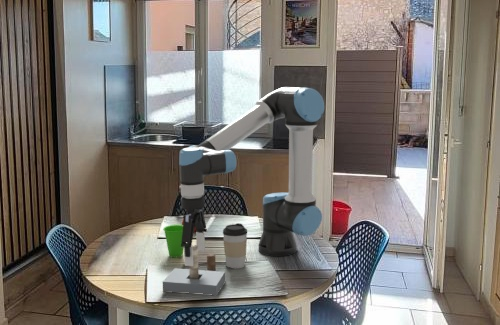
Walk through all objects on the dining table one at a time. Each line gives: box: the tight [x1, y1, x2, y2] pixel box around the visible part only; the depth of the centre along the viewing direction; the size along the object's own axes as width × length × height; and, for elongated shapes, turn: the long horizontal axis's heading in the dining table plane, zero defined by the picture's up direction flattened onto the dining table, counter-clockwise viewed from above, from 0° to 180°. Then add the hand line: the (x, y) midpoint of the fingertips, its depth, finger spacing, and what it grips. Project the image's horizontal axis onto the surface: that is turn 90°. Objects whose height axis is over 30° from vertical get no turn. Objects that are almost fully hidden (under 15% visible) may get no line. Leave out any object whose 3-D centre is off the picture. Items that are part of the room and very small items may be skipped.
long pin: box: [188, 244, 199, 280], centre depth 180 cm, size 3×3×14 cm
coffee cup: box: [222, 223, 248, 269], centre depth 200 cm, size 9×9×15 cm
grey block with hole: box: [162, 267, 226, 296], centre depth 181 cm, size 18×12×4 cm, turn 79°
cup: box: [163, 224, 184, 258], centre depth 211 cm, size 9×9×11 cm
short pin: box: [206, 253, 217, 271], centre depth 194 cm, size 3×3×6 cm
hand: (195, 258), depth 180 cm, fingers open, 13 cm apart
